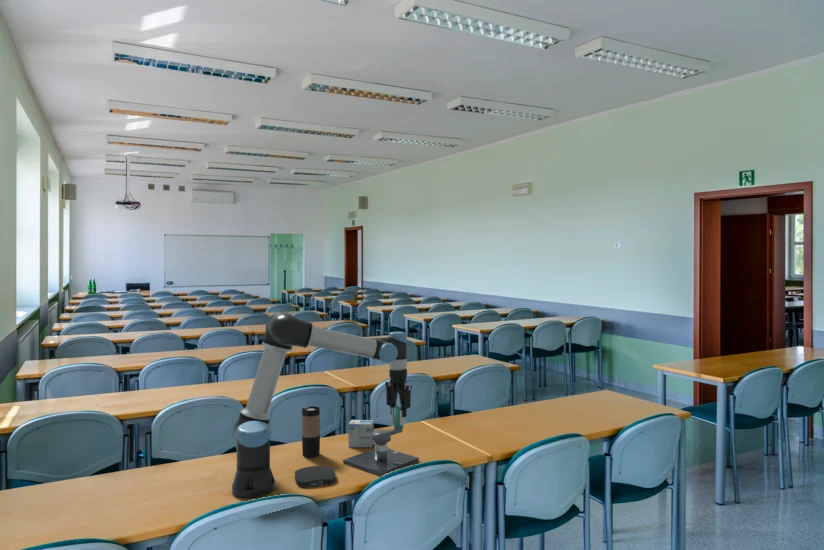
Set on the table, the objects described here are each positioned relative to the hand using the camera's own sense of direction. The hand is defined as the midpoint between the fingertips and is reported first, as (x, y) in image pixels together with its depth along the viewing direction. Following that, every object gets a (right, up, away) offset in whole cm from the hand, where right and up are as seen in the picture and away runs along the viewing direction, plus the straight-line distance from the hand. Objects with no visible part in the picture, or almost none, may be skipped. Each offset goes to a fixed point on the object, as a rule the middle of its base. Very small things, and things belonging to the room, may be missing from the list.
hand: (398, 423), depth 237 cm
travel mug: (-37, -14, +2) cm, 40 cm away
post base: (-7, -14, -7) cm, 17 cm away
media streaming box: (-31, -15, -24) cm, 42 cm away
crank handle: (-4, -5, -4) cm, 8 cm away
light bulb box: (-17, -14, +15) cm, 27 cm away
